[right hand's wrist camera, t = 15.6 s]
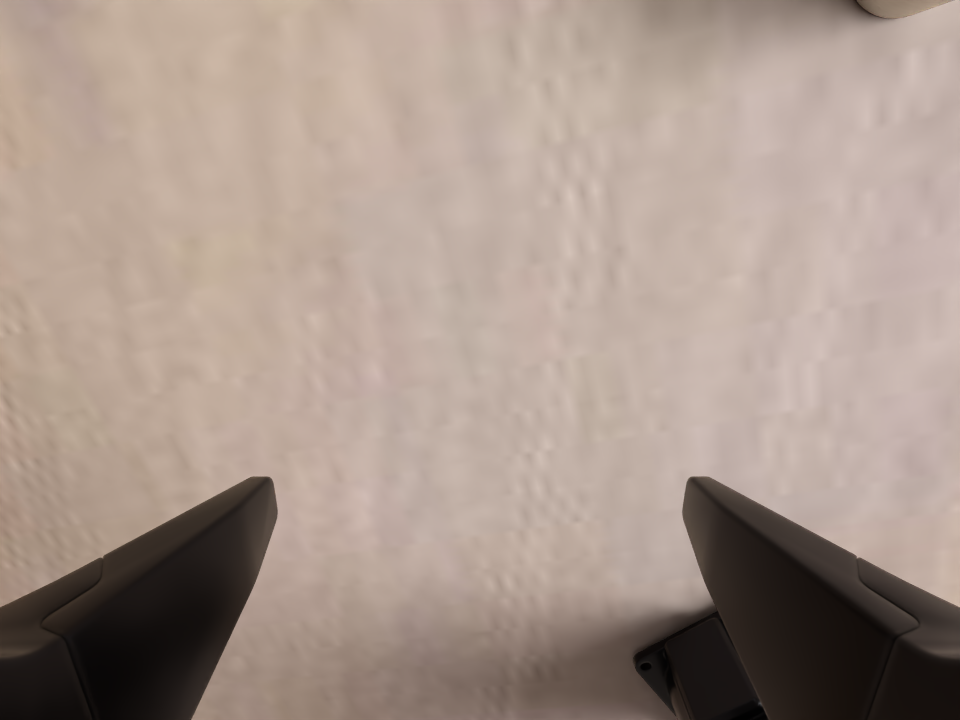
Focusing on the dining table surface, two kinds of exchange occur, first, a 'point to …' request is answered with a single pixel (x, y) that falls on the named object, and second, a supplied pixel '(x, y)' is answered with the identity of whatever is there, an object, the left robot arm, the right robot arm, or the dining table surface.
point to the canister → (898, 7)
